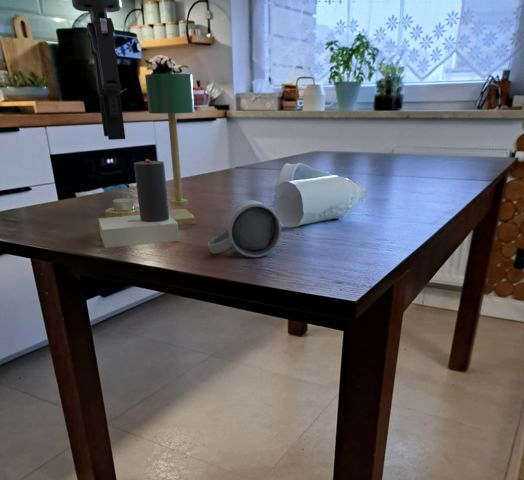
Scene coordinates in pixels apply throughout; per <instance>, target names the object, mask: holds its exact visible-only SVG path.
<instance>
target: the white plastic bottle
mask: <svg viewBox="0 0 524 480" xmlns="http://www.w3.org/2000/svg"><path fill="white" fill-rule="evenodd" d="M275 189H276V193H275V192H274V194H273V200H272V202H271V203H272V204H273V211H274V212H275V213H276V214H277V216H278V218H279V220H280V224H281V225H283V227H287V228H297V227H300V226H301V225H309V224H314V223H319V222H323V221H328V220H333V219H335V220H337V219H341V218H343V217H344V216H345V215H346V214H347V213H350V212H352V211H353V210H354V209H356V206H357V205H358V203H360V202H363V201H365V199H366V193H367V190H366V189H365V187H364V186H363V185H362V184H360V183H359V182H358V180H356V182H355V183H354V182H353V180H351V179H349V178H347V177H344V176H339V175H338V174H336V175H335V174H334V175H329V176H326V177H319V178H313V179H305V180H296V181H288V182H282V183H280V184H279V185H278V186H276V185H275Z"/></svg>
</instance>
